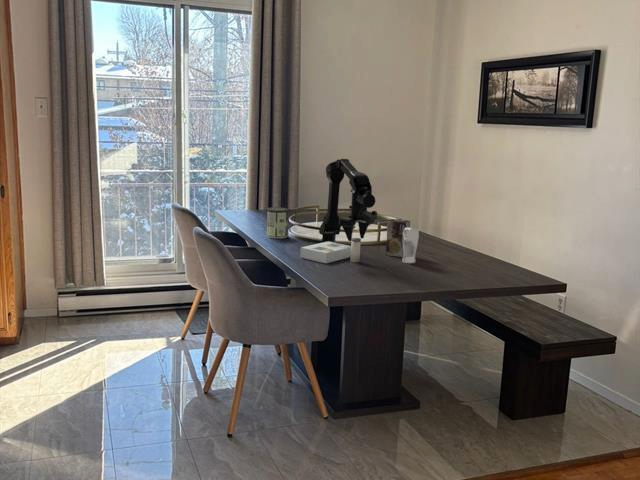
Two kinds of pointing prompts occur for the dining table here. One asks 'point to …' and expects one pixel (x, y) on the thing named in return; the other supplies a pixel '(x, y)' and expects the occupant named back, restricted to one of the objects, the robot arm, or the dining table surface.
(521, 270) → the dining table surface
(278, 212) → the coffee can
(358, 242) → the plug
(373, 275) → the dining table surface
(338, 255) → the port box
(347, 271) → the dining table surface
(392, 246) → the coffee box
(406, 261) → the beer glass
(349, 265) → the dining table surface
